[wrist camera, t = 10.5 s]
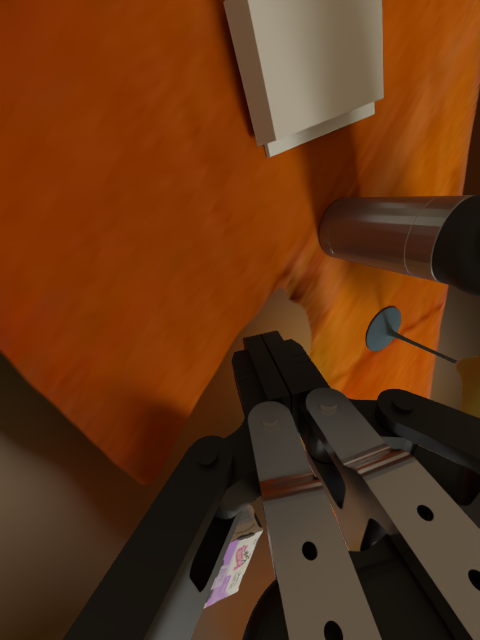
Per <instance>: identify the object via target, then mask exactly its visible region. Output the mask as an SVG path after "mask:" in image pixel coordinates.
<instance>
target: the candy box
mask: <svg viewBox="0 0 480 640" xmlns="http://www.w3.org/2000/svg"><path fill="white" fill-rule="evenodd" d="M191 445H192V444H191ZM262 531H263V528H262V526H261V524H260V522H259V520H258V518H257V516H256V514H255V512H254V510H253V508H252V506H251V504H249V505H248V506H247V507H246V508H244V509H243V511H242V514H241V517H240V519H239V522H238V524H237V527H236V529H235V532H234V534H233V536H232V539H231V541H230V544H229V546H228V549H227V551H226V554H225V556H224V559H223V561H222V563H221V566H220V568H219V571H218V573H217V576H216V578H215V581H214V583H213V586H212V588H211V590H210V593H209V595H208V598H207V600H206V603H205V605H204V608H206V607H208V606H210V605H212V604H214V603H216V602H218V601H220V600H222V599H224V598H226V597H228V596H229V595H232V594H234V593H236V592H237V591H238V590H239V584H240V582H241V580H242V577H243V575H244V572H245V570H246V568H247V566H248V563H249V561H250V559H251V556H252V553H253V552H254V549H255V547H256V544H257V541H258V539H259V537H260V535H261V533H262Z"/></svg>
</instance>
